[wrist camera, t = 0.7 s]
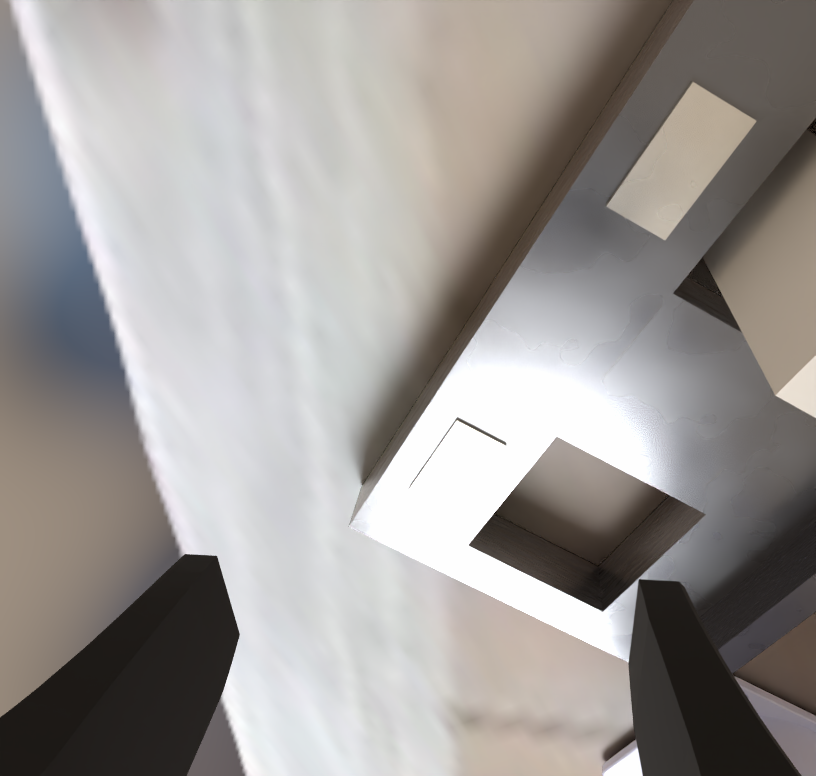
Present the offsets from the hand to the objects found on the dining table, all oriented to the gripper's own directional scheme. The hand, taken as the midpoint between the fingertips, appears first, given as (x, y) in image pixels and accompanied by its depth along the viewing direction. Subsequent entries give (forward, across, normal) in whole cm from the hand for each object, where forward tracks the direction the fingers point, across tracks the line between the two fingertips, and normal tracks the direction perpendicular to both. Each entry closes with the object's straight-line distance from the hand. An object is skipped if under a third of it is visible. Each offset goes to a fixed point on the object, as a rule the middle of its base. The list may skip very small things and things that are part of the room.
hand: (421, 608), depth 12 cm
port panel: (+10, -6, +1) cm, 12 cm away
